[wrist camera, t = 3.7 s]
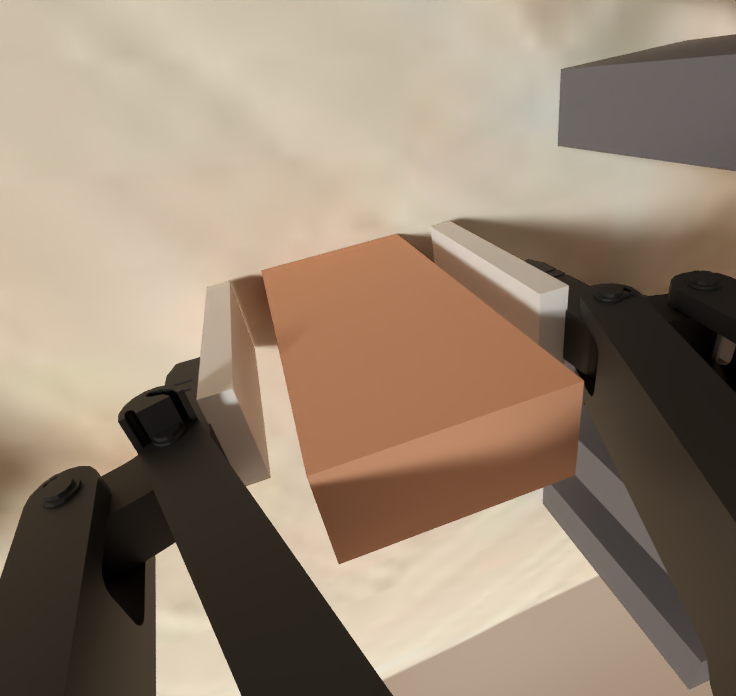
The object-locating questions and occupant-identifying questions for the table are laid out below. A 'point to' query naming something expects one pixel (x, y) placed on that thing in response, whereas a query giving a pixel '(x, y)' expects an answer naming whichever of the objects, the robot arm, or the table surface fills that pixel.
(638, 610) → the domino
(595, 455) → the domino
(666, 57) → the domino
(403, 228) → the table surface
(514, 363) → the domino
